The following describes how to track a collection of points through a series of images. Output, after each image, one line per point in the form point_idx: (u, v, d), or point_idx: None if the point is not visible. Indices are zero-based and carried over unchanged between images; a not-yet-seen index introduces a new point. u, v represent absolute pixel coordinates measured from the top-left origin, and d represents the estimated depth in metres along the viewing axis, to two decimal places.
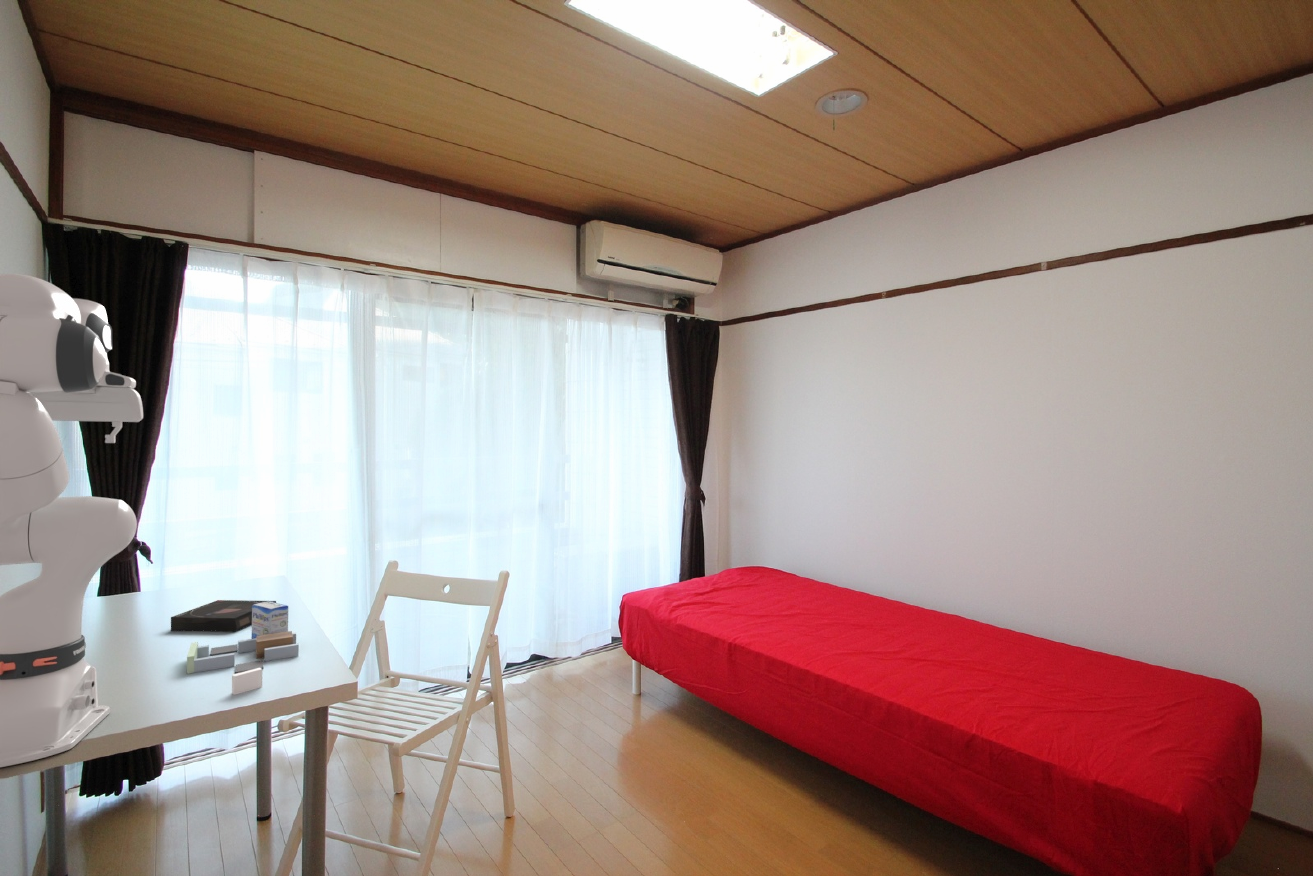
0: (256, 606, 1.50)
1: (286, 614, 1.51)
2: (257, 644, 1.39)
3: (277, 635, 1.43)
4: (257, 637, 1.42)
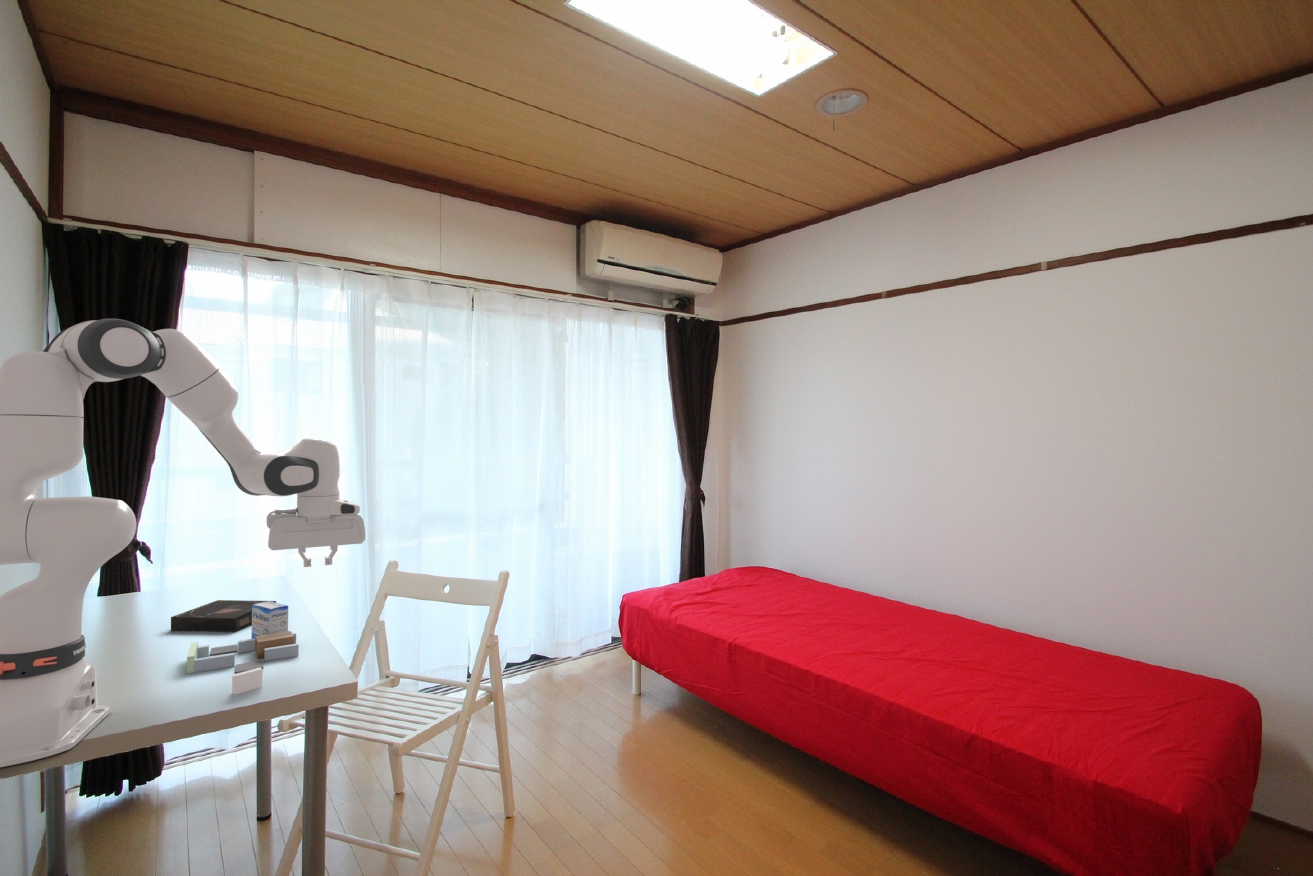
0: (256, 606, 1.50)
1: (286, 614, 1.51)
2: (259, 644, 1.38)
3: (277, 635, 1.43)
4: (257, 637, 1.41)
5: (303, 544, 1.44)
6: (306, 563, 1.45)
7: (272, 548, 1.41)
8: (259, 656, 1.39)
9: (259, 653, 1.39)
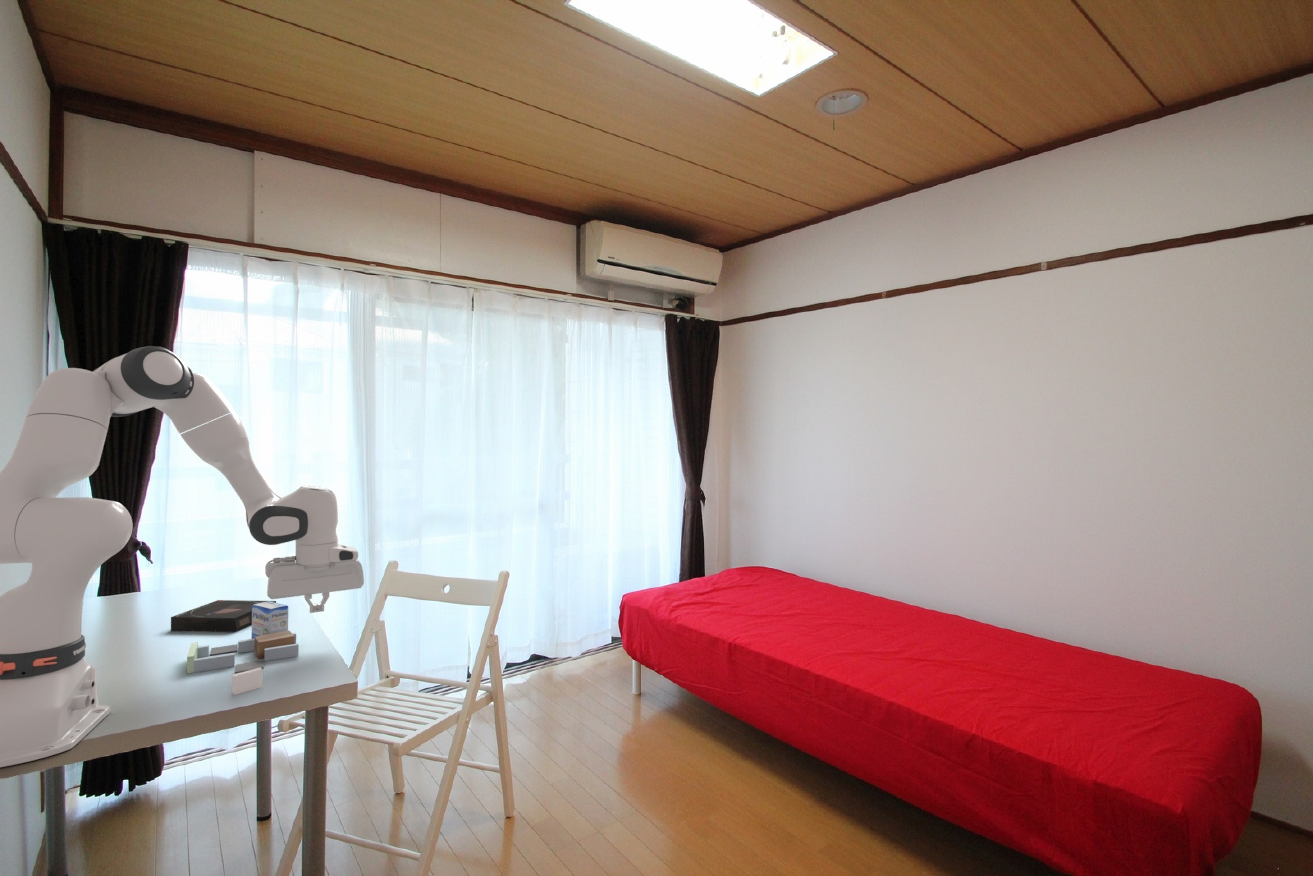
0: (256, 606, 1.50)
1: (286, 614, 1.51)
2: (259, 644, 1.38)
3: (277, 635, 1.43)
4: (256, 638, 1.41)
5: (302, 592, 1.45)
6: (312, 609, 1.47)
7: (271, 597, 1.41)
8: (260, 656, 1.38)
9: (260, 653, 1.38)
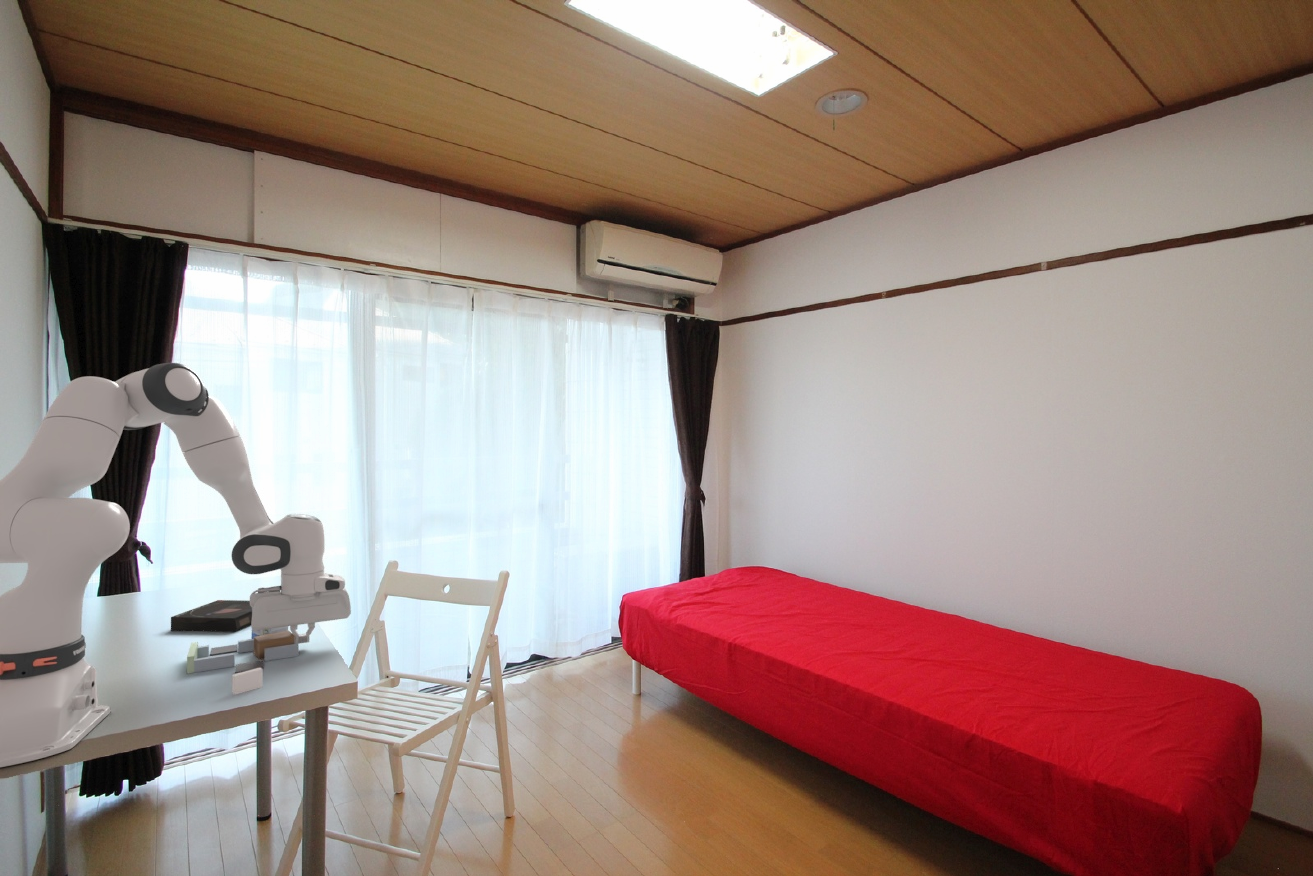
0: None
1: None
2: (260, 644, 1.38)
3: (277, 635, 1.43)
4: (256, 638, 1.41)
5: (287, 622, 1.42)
6: (298, 640, 1.44)
7: (255, 628, 1.39)
8: (260, 656, 1.38)
9: (260, 653, 1.38)
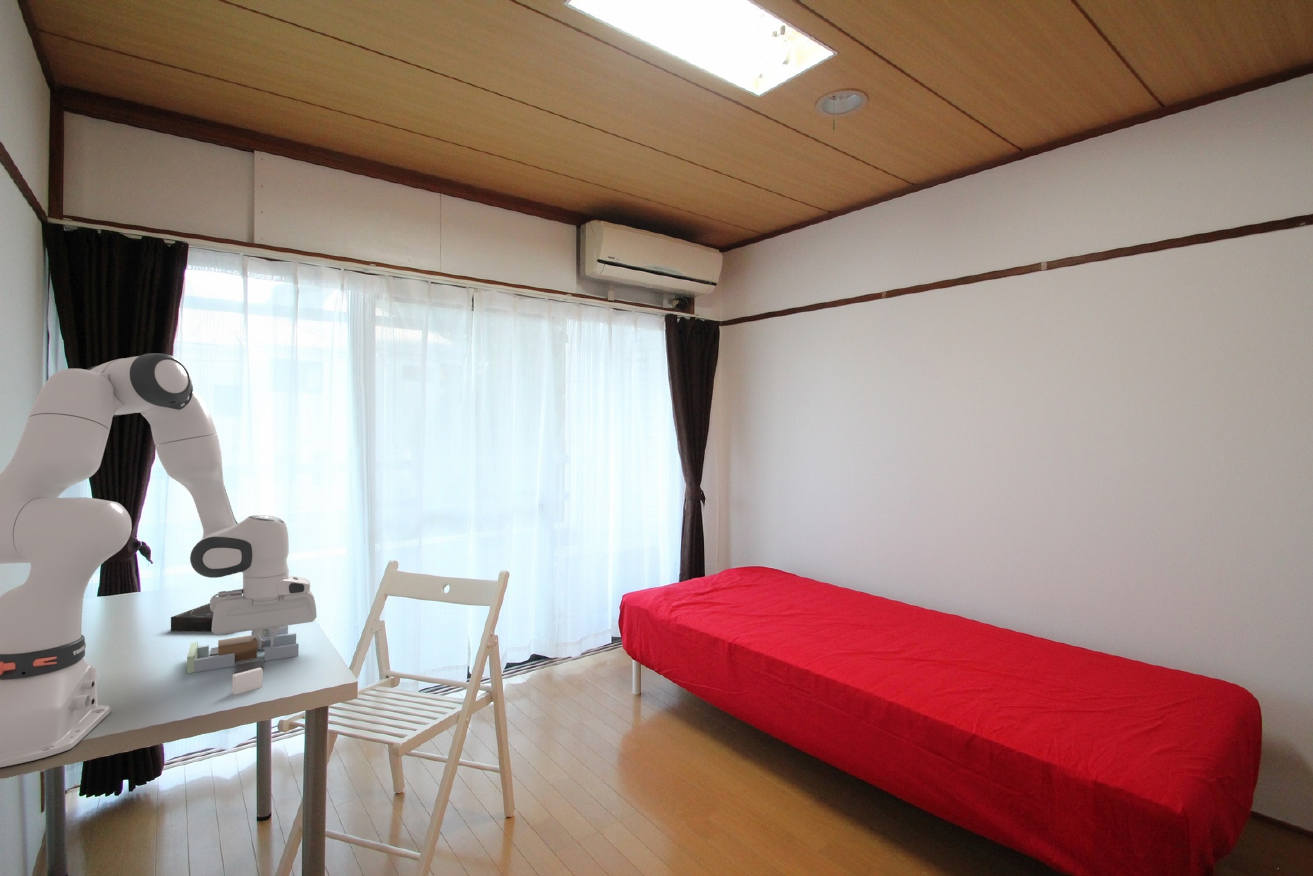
0: None
1: None
2: (219, 649, 1.35)
3: (241, 639, 1.40)
4: (219, 641, 1.38)
5: (249, 627, 1.38)
6: (261, 645, 1.40)
7: (215, 633, 1.35)
8: None
9: None
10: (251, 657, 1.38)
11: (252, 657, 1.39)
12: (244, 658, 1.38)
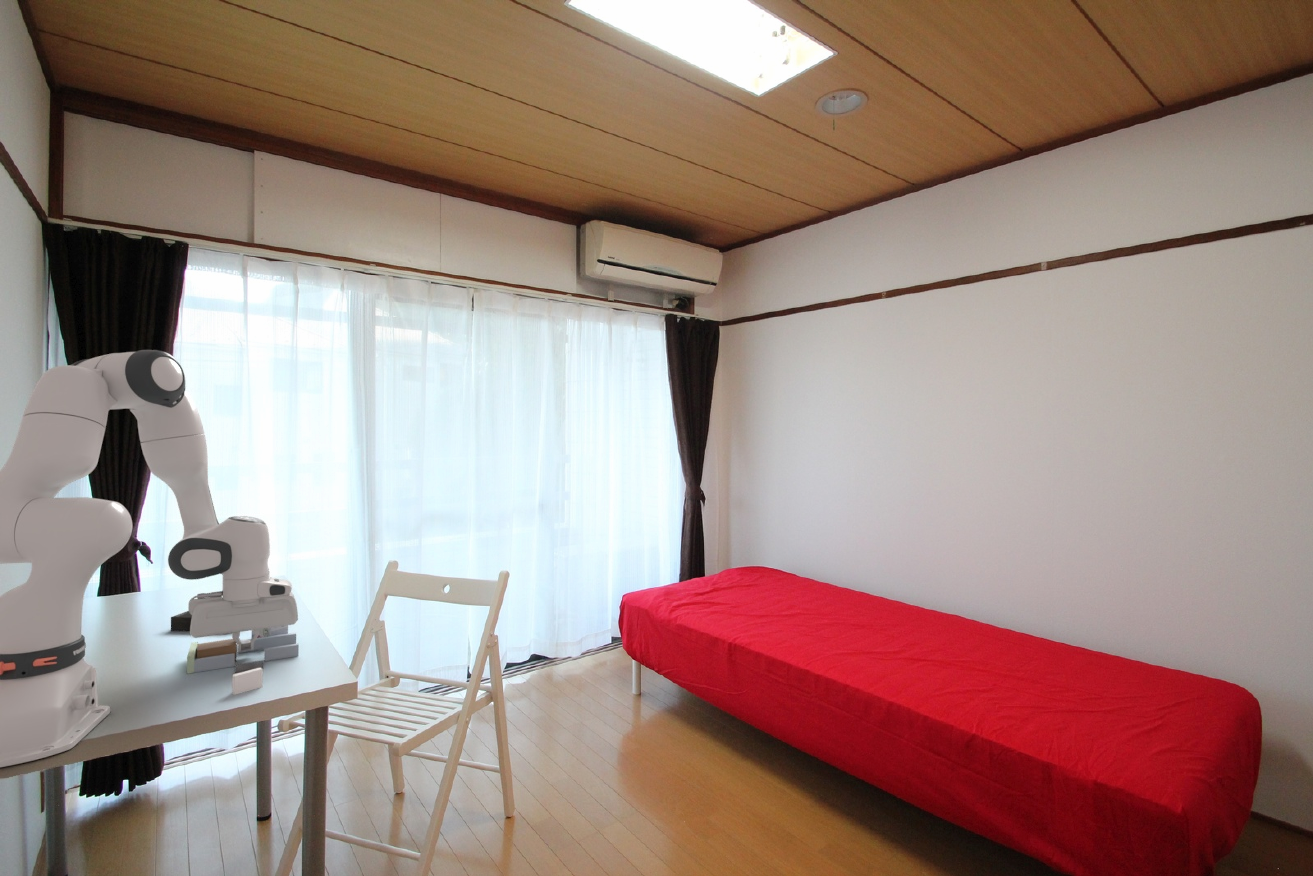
0: None
1: None
2: (198, 653, 1.33)
3: (220, 643, 1.38)
4: (198, 645, 1.36)
5: (228, 629, 1.36)
6: (240, 647, 1.38)
7: (194, 636, 1.33)
8: None
9: None
10: None
11: None
12: None
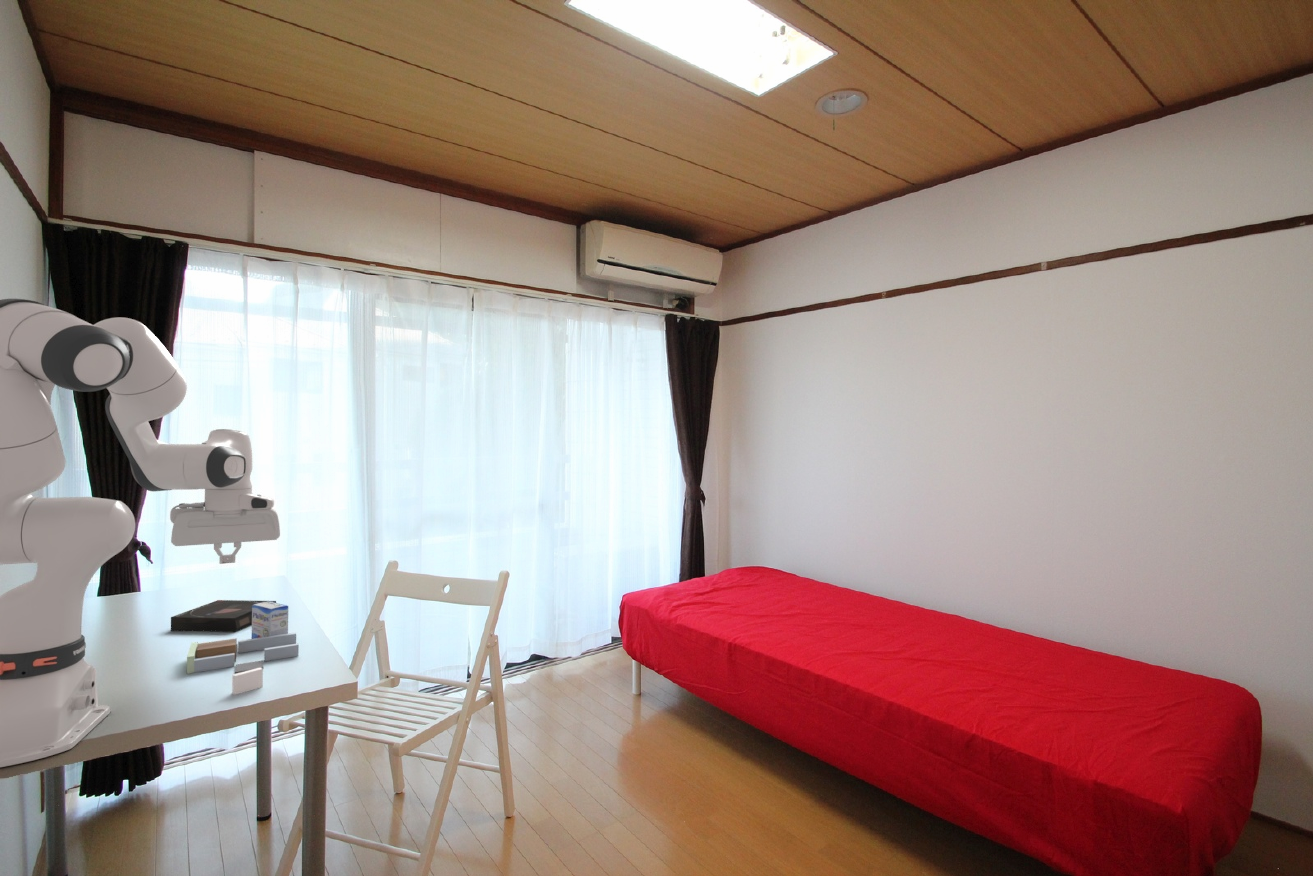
0: (256, 606, 1.50)
1: (286, 614, 1.51)
2: (197, 652, 1.33)
3: (220, 643, 1.38)
4: (198, 645, 1.36)
5: (210, 540, 1.37)
6: (222, 559, 1.39)
7: (175, 544, 1.34)
8: None
9: None
10: None
11: None
12: None
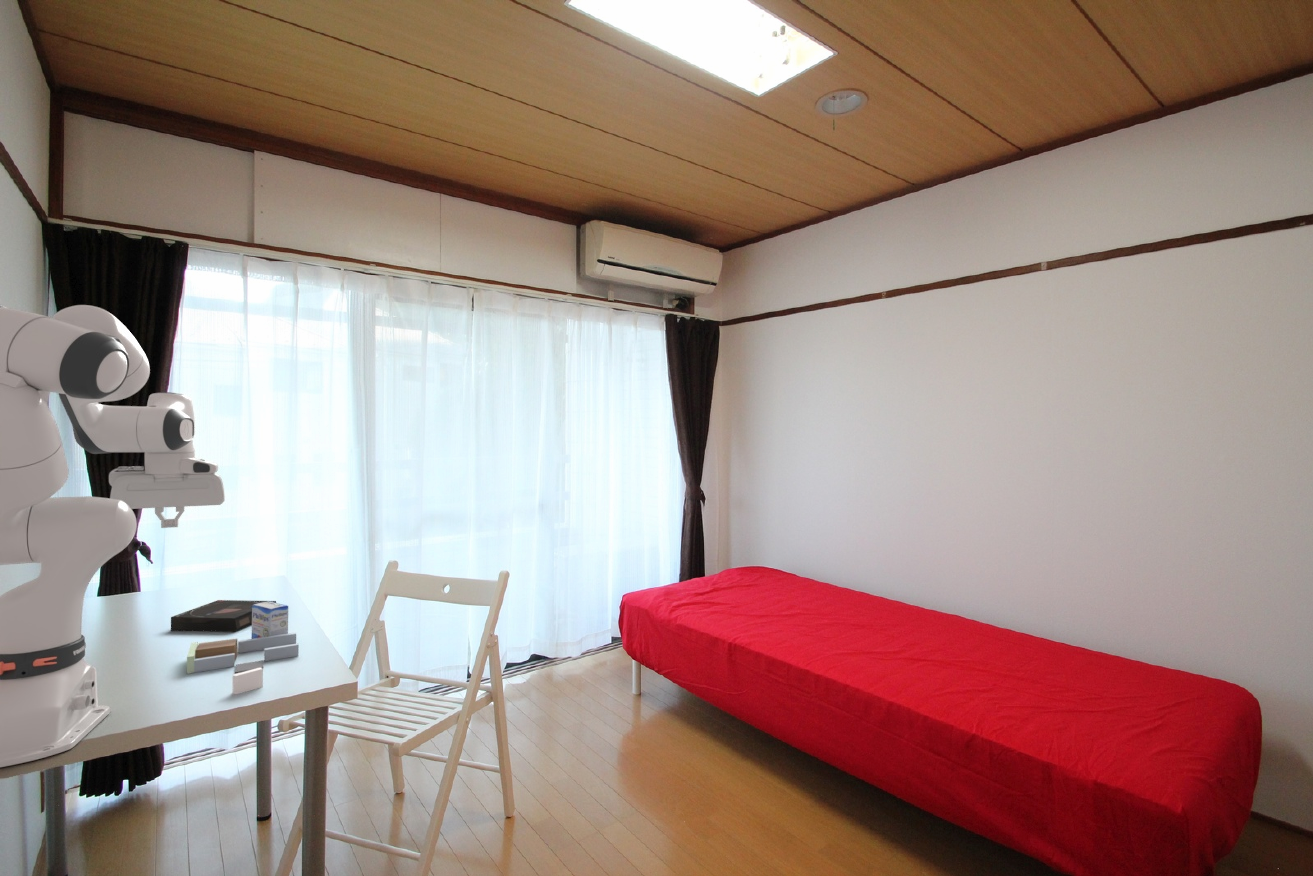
0: (256, 606, 1.50)
1: (286, 614, 1.51)
2: (196, 652, 1.33)
3: (221, 643, 1.38)
4: (199, 645, 1.36)
5: (150, 504, 1.36)
6: (163, 524, 1.38)
7: None
8: None
9: None
10: None
11: None
12: None
